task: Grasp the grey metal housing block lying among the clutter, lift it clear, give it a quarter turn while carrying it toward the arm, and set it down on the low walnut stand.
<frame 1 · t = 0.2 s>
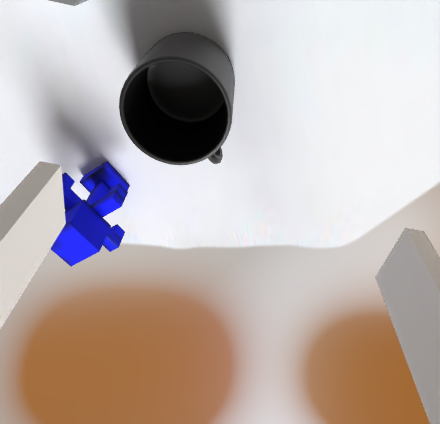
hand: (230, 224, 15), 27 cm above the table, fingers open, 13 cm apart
figurine: (107, 180, 47), on the table
mug: (195, 91, 40), on the table
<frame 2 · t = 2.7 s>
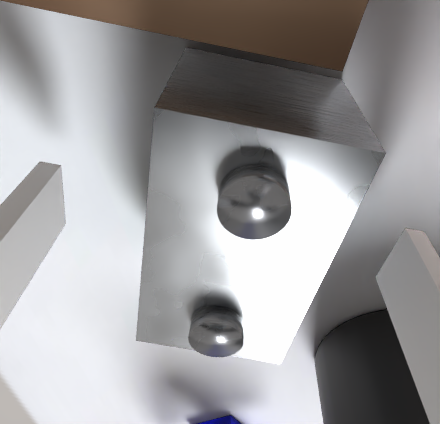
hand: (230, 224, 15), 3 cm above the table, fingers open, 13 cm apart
housing: (237, 173, 17), on the table
mug: (392, 361, 25), on the table
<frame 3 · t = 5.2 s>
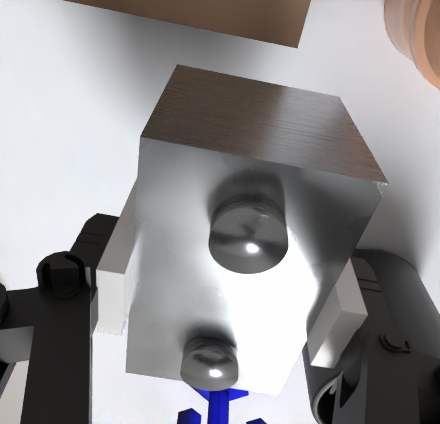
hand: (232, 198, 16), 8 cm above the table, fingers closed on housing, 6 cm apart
housing: (232, 193, 17), point 7 cm above the table, touching gripper
figurine: (220, 375, 38), on the table
mug: (359, 301, 31), on the table
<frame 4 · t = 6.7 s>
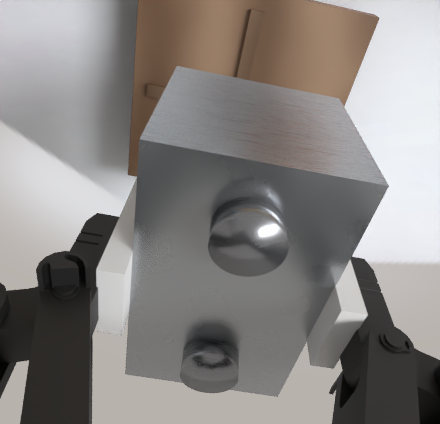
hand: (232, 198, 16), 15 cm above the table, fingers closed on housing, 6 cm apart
housing: (231, 195, 17), point 14 cm above the table, touching gripper
stand: (237, 92, 28), on the table
when the fingers open (4 cm above the table, at t = 8.7 s): housing stays where it is, resting on stand.
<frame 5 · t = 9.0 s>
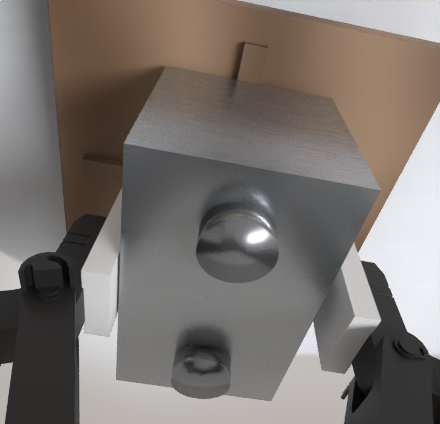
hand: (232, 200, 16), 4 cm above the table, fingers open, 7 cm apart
housing: (224, 196, 16), point 3 cm above the table, touching stand
stand: (226, 155, 19), on the table
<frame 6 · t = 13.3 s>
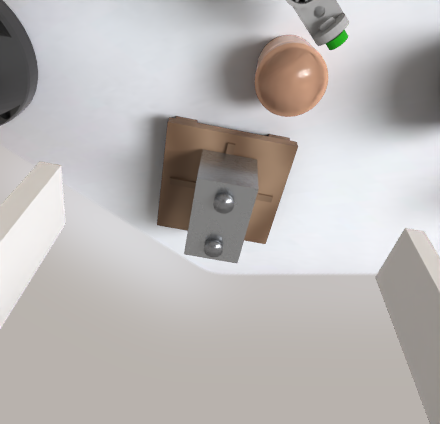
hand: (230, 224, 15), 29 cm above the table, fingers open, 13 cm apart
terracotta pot: (286, 66, 39), on the table
housing: (221, 192, 44), point 3 cm above the table, touching stand
stand: (222, 175, 47), on the table
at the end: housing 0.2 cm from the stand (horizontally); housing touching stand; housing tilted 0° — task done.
